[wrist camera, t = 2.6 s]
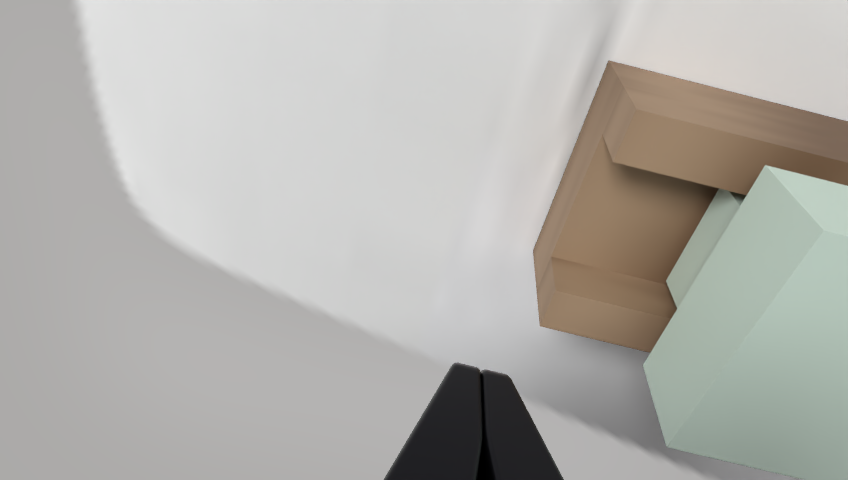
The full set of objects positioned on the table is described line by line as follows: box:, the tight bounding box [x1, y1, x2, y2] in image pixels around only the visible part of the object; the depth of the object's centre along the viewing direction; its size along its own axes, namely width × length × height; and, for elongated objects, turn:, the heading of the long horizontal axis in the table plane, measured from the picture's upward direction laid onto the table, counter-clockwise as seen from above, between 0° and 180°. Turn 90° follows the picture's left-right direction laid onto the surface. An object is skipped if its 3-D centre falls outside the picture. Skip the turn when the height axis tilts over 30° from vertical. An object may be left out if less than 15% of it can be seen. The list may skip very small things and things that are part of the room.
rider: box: [643, 165, 848, 480], centre depth 13 cm, size 5×6×4 cm
